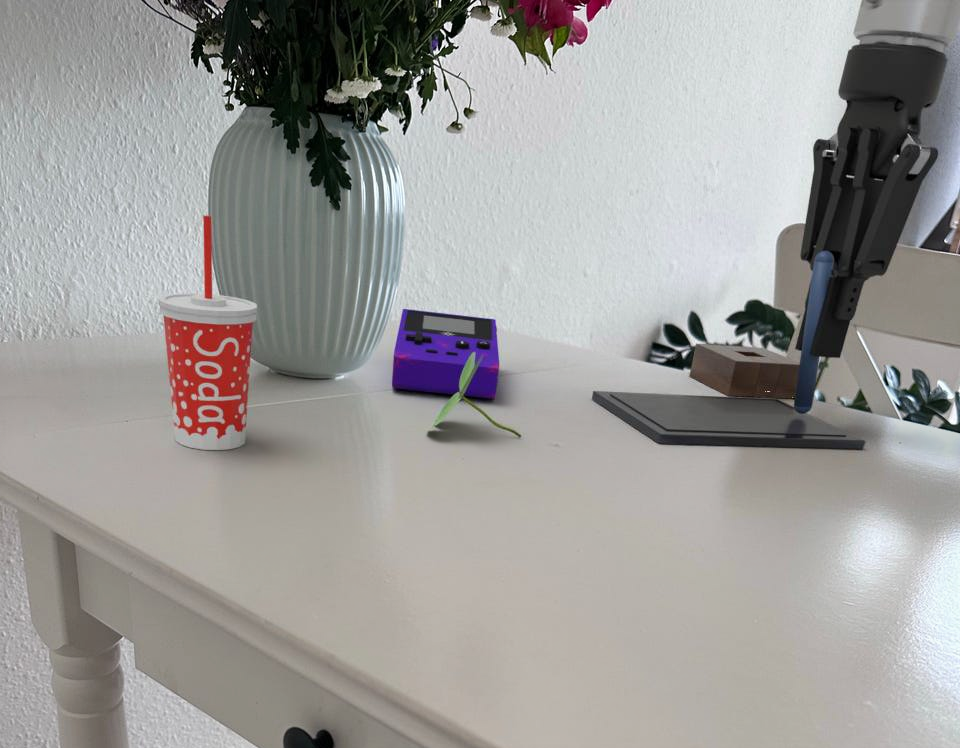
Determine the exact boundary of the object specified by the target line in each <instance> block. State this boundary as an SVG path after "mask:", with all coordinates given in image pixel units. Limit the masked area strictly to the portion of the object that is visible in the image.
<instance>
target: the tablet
mask: <svg viewBox="0 0 960 748" xmlns="http://www.w3.org/2000/svg"><path fill="white" fill-rule="evenodd" d="M591 400H592V401H593V402H595V403H596V404H598V405H600V406H602V407H603V408H605V409H606V410H608V411H609V412H610V413H612V414H614V415H615V416H616V417H618V418H620V419H621V420H623V421H624V422H625V423H627V424H628V425H630V426H631V427H633V428H634V429H636V430H637V431H639V432H641V433H642V434H644V435H645V436H646V437H648V438H650V439H651V440H653V441H654V442H656V443H657V444H659V445H691V446H693V445H695V446H728V447H729V446H730V447H731V446H732V447H733V446H734V447H763V448H765V447H767V448H768V447H769V448H800V449H801V448H802V449H838V450H839V449H840V450H863V449H864V448H865V444H866V440H865V439H863V438H861V437H859V436H856V435H854V434H852V433H851V432H848V431H846V430H844V429H842V428H839V427H838V426H835V425H833V424H831V423H829V422H827V421H825V420H823V419H820V418H818V417H816V416H814V415H813V414H810V413H809V412H807V413H805V414H800V413H798V412H796V410H795V409H794V405H790V404H789V403H787V402H784V401H782V400H781V399H779V398H762V397H740V396H717V395H716V396H714V395H695V394H694V395H693V394H692V395H691V394H672V393H671V394H669V393H650V392H649V393H648V392H646V393H645V392H627V391H607V390H606V391H605V390H604V391H603V390H602V391H601V390H592V397H591Z"/></svg>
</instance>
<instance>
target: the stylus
mask: <svg viewBox="0 0 960 748" xmlns="http://www.w3.org/2000/svg"><path fill="white" fill-rule="evenodd" d="M833 264H834V257H833V255H832V253H830V252H829V251H822V252H820V253H818V254H817V255H816V257H815V259H814V266H813V271H812V273H811V278H812V280H811V279H810V282H811V287H810V294H809V301H808V308H807V315H806V322H805V330H804V337H803V344H802V351H800V357H799V358H800V359H799V362H800V365H799V372H798V379H797V386H796V394H795V399H794V402H793V407H794V409H795V410H796V412H798V413H800V414H805V413H809V412H810V411H811V410H812V408H813V403H814V395H815V390H816V383H817V375H818V369H819V363H820V357H817V356H812V355H809V354H810V350H811V346H812V342H813V339H814V335H815V331H816V327H817V324H818V320H819V317H820V313H821V310H822V306H823V303H824V299H825V295H826V291H827V287H828V283H829V279H830V277H832V276H831V270H833Z"/></svg>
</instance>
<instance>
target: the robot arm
mask: <svg viewBox="0 0 960 748" xmlns="http://www.w3.org/2000/svg"><path fill="white" fill-rule="evenodd" d="M959 25H960V0H861V2H860V6H859V9H858V14H857V17H856V21H855V25H854V28H853V33H852V35H853V36H854V38H855V40H859V41H858V42H859V43H858V44H855V45H852V46H851V49H848V50H847V54H846V58H845V62H844V65H843V70H842V75H841V77H840V82H839V87H838V91H837V92H838V93H837V94H838V96H839V98H840V99H841V100H844V101H845V102H846V108H845V111H844V113H843V115H842V118H840V120H839V122H838V125H837V129H836V133H834V134H833V135H832V136H831V137H829V138H828V139H823V138H818V139H816V140H815V141H814V143H813V147H812V156H813V157H812V159H813V173H812V180H811V186H810V192H809V199H808V204H807V211H806V217H805V224H804V229H803V230H804V231H803V234H802V235H803V236H802V242H801V247H800V256H799V257H800V259H801V261H804V262H807V263H808V264H809V268H810V271H811V272H813V266H814V259H815V257H816V255H817V254H818V253H820V252H822V251H829V252H830V253H832V255H833V257H834V264H833V270H831V276H832V277H830V279H829V283H828V287H827V291H826V295H825V299H824V303H823V306H822V310H821V313H820V317H819V320H818V324H817V327H816V331H815V335H814V339H813V342H812V346H811V350H810V354H809V355H812V356H817V357H819V358H820V357H821V358H835V359H840V358H841V356H842V352H843V350H844V349H843V348H844V346H845V341H846V338H847V335H848V331H849V327H850V324H851V321H853V319H854V317H855V316H856V312H857V309H858V305H859V301H860V298H861V295H862V290H863V286H864V284H865V282H866V281H868V280H869V279H870V278H874V277H876V276H877V277H878V276H880V277H882V276H884V275H885V274H886V273H887V272H888V269H889V266H890V264H891V261H892V258H893V256H894V253H895V251H896V249H897V247H898V246H897V245H898V243H899V241H900V239H901V236H902V233H903V231H904V228H905V226H906V224H907V221H908V219H909V216H910V213H911V211H912V209H913V206H914V203H915V201H916V198H917V196H918V193H919V190H920V188H921V186H922V183H923V181H924V179H925V178H926V176H927V175H928V173H929V172H930V170H931V169H932V167H933V166H934V165H935V163H936V162H937V159H938V157H939V150H938V148H937V147H933V146H926V144H925V143H924V142H923V141H922V139H921V137H920V135H921V131H922V121H921V120H922V112H923V110H925V109H929V108H931V107H933V106H934V105H935V103H936V102H937V99H938V96H939V92H940V90H941V89H940V88H941V86H942V82H943V78H944V75H945V72H946V68H947V64H948V62H949V59H948V58H947V55H946V53H944V52H943V49H946V48H948V47H950V46H951V45H952V44H954V43H955V40H956V36H957V33H958V29H959ZM811 280H812V277H811V279H810V282H809V285H808V291H807V293H806V298H805V301H804V313H803V317H802V321H801V325H800V328H799V332H798V336H797V339H796V344H795V348H794V350H796V351H799V352H801V351H802V344H803V337H804V330H805V322H806V315H807V308H808V301H809V294H810V287H811Z"/></svg>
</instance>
